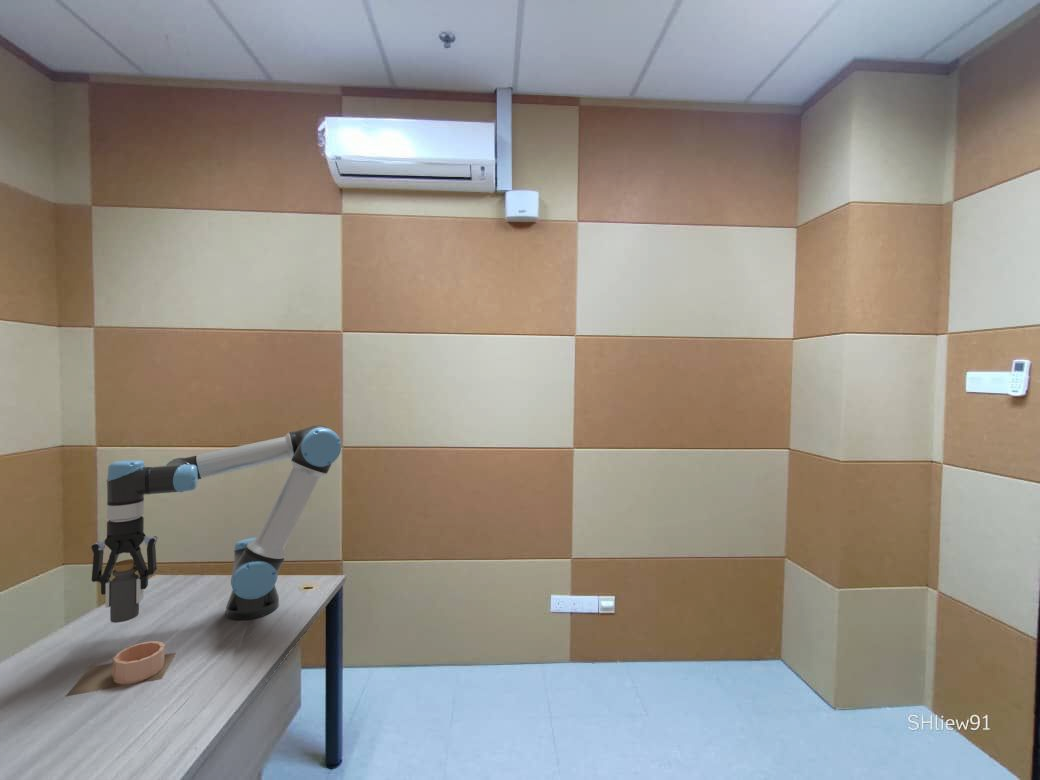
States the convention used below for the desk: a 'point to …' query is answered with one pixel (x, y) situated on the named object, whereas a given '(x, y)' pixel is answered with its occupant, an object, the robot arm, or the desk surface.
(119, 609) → the bottle
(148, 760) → the desk surface
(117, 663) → the terracotta bowl
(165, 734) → the desk surface
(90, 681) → the board
